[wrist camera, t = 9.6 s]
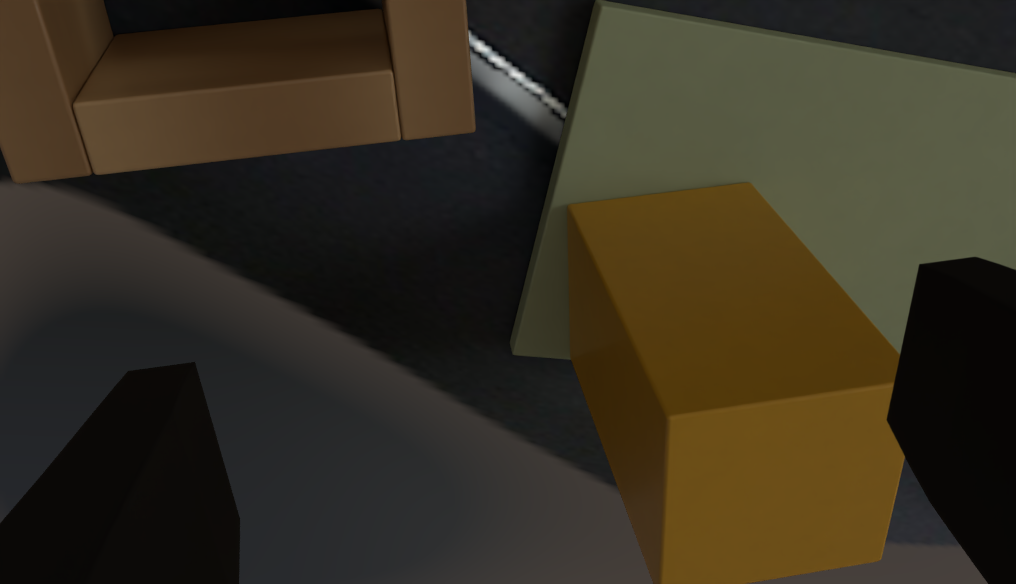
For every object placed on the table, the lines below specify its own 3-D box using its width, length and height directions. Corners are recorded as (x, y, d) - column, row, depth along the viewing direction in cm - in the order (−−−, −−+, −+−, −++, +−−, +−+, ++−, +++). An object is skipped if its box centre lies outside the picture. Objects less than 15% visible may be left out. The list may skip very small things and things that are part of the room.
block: (569, 358, 22) (658, 600, 16) (566, 203, 20) (666, 418, 14) (736, 335, 22) (882, 562, 16) (750, 180, 20) (924, 379, 14)
